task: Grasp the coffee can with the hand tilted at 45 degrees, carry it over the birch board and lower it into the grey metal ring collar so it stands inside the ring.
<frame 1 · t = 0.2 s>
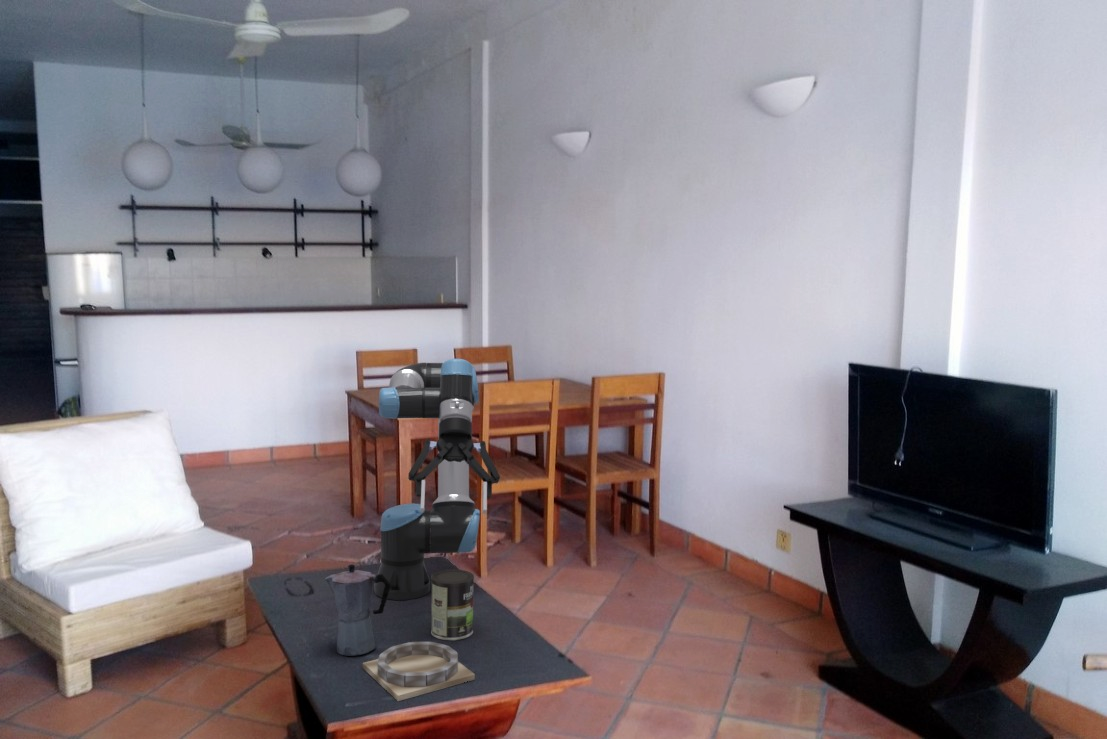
hand: (453, 511, 193), 35 cm above the table, tool tilted 35°, fingers open, 13 cm apart
moka pot: (357, 649, 204), on the table
ring board: (418, 673, 192), on the table
coffee can: (451, 632, 215), on the table
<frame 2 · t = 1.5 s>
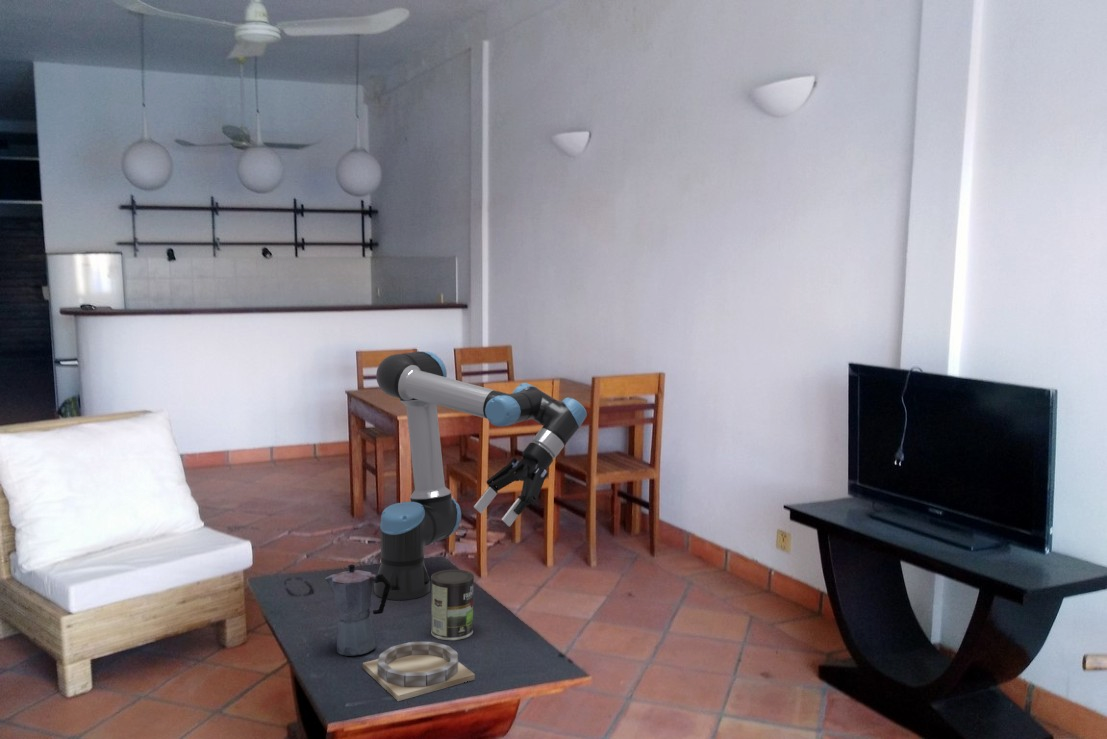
hand: (491, 516, 218), 27 cm above the table, tool tilted 45°, fingers open, 13 cm apart
nothing on the table moved.
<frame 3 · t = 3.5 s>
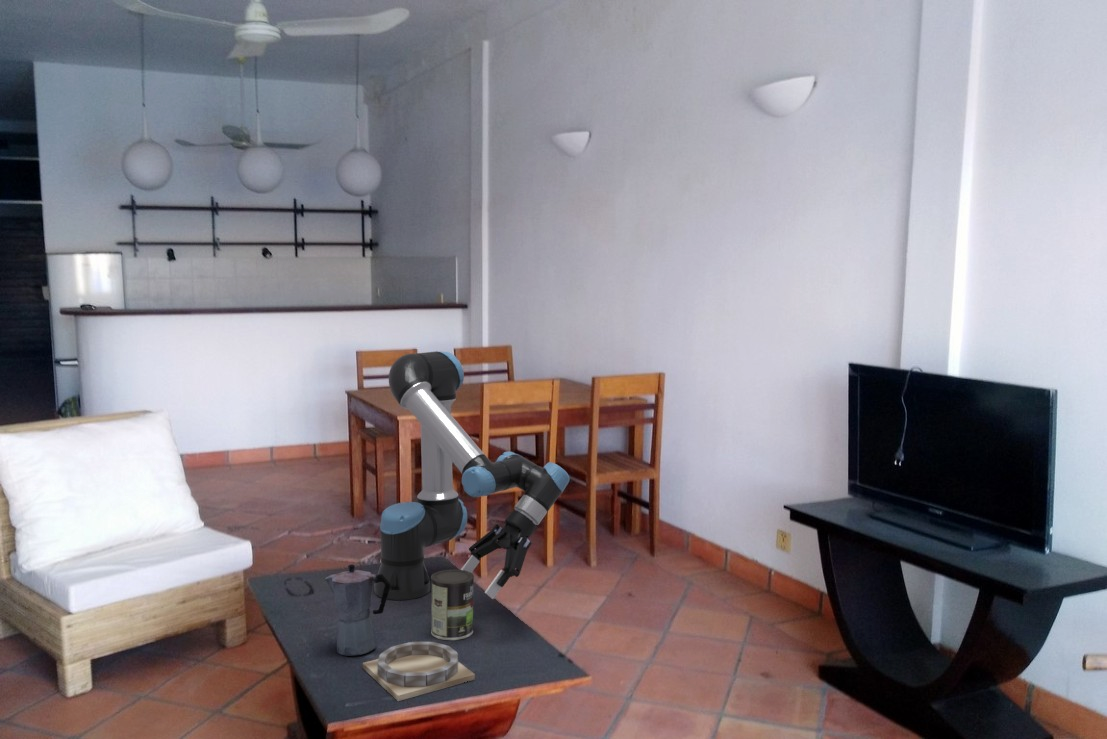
hand: (473, 587, 215), 11 cm above the table, tool tilted 45°, fingers open, 13 cm apart
nothing on the table moved.
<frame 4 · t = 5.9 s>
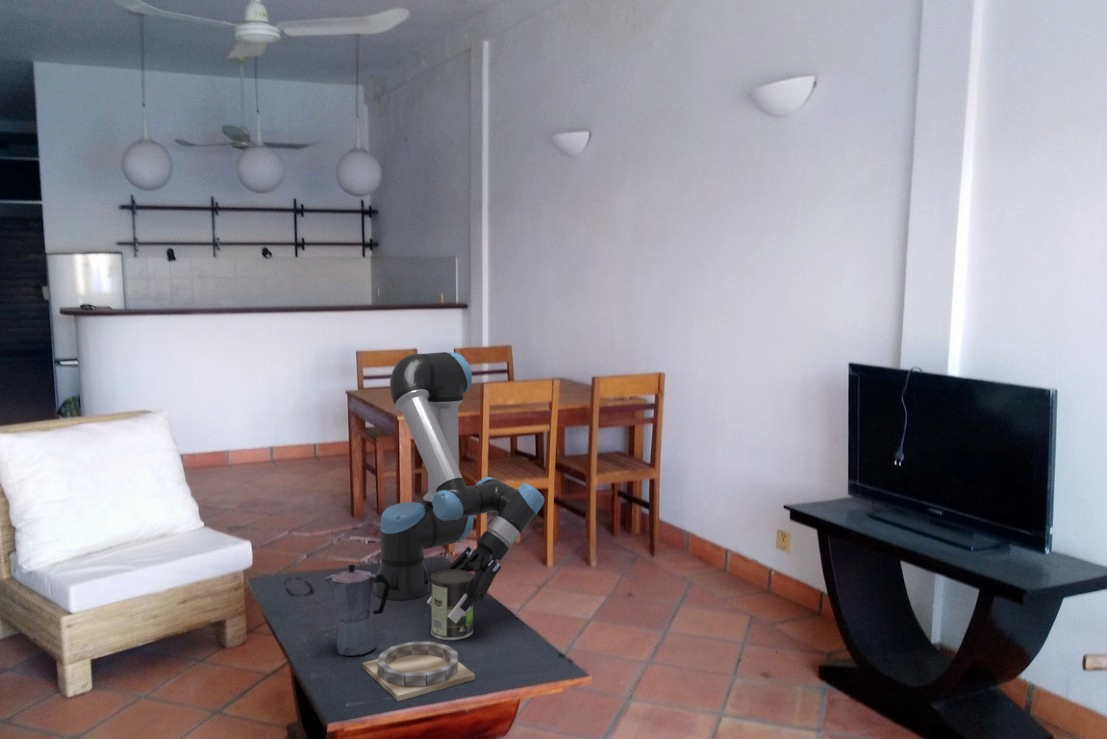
hand: (441, 612, 213), 6 cm above the table, tool tilted 45°, fingers closed on coffee can, 10 cm apart
coffee can: (451, 632, 215), on the table, touching gripper
everything else where it was.
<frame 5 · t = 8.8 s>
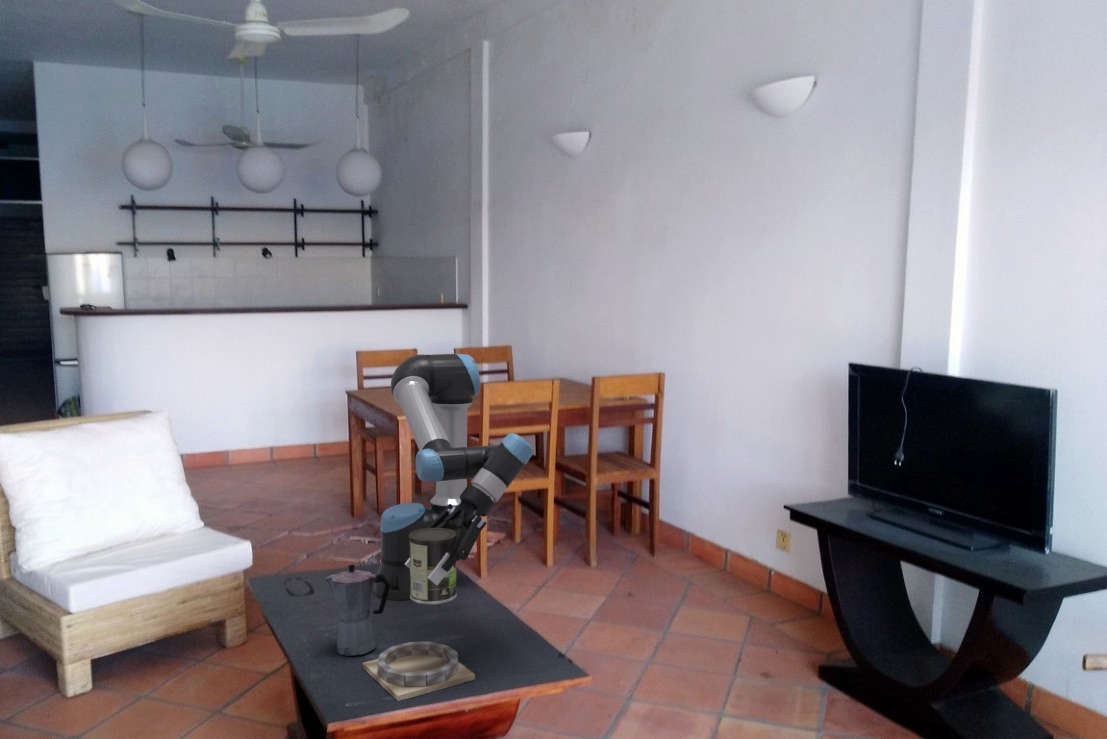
hand: (420, 574, 192), 22 cm above the table, tool tilted 45°, fingers closed on coffee can, 10 cm apart
coffee can: (433, 597, 194), point 16 cm above the table, touching gripper
everything else where it was.
when the fingers open (8 cm above the table, at t = 12.2 s): coffee can drops 1 cm, resting on ring board.
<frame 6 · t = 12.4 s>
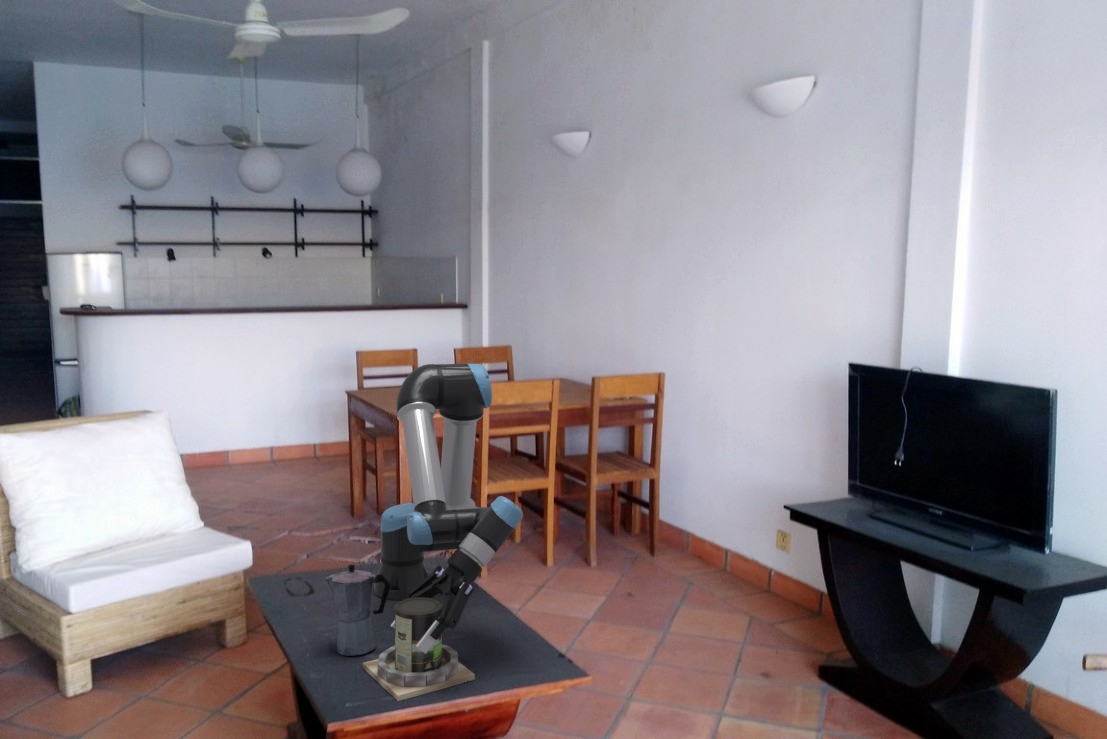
hand: (407, 639, 190), 8 cm above the table, tool tilted 45°, fingers open, 12 cm apart
coffee can: (418, 668, 192), point 1 cm above the table, touching ring board
everything else where it was.
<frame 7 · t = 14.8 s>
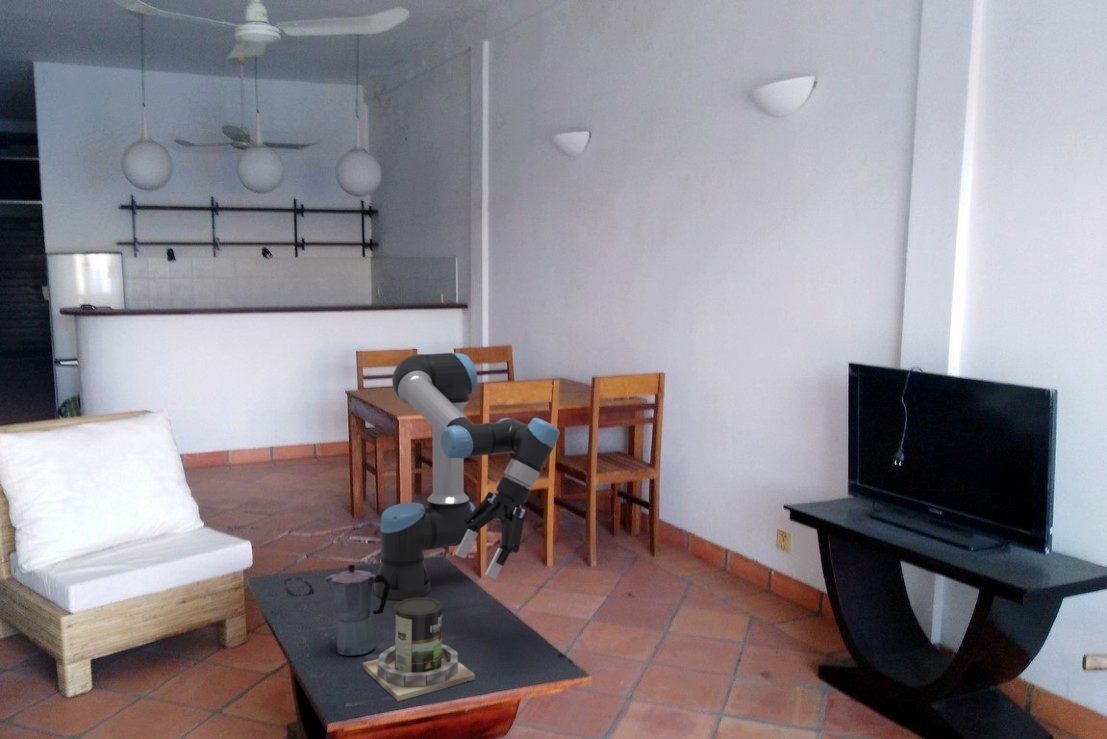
hand: (474, 566, 201), 21 cm above the table, tool tilted 30°, fingers open, 13 cm apart
nothing on the table moved.
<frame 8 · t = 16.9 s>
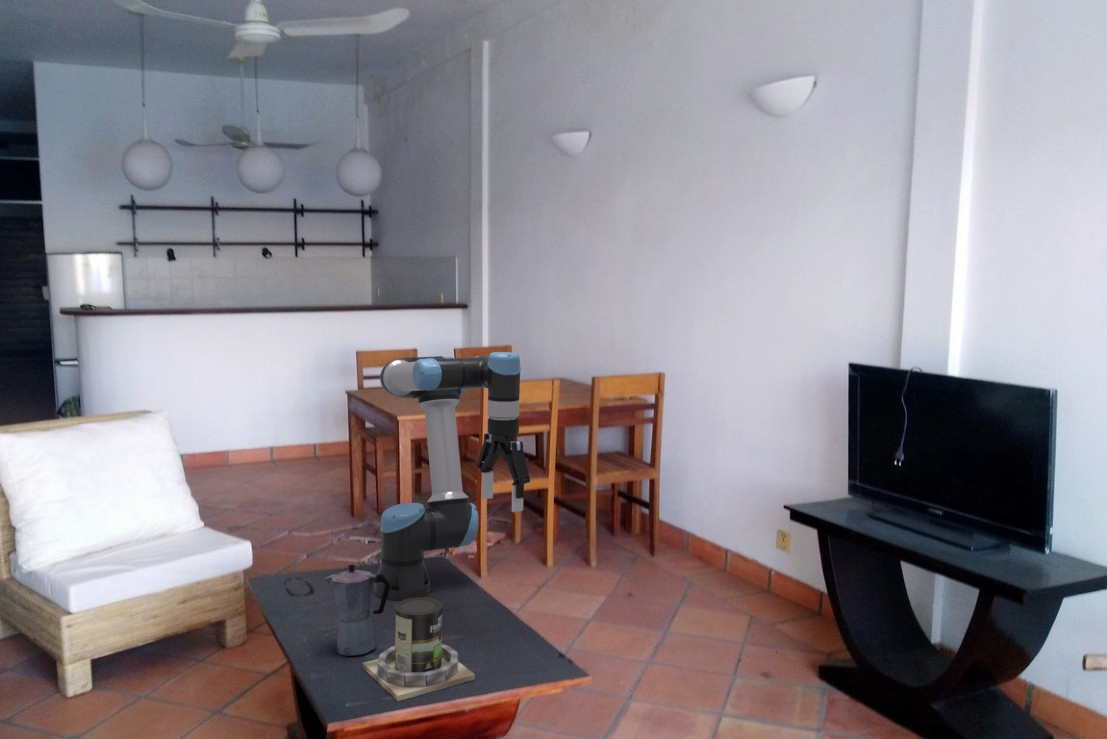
hand: (502, 504, 212), 32 cm above the table, tool pointing down, fingers open, 13 cm apart
nothing on the table moved.
at the end: coffee can 0.3 cm off-centre on the ring board, point 1.0 cm above the ring board's base; coffee can tilted 0°; the gripper is holding nothing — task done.
